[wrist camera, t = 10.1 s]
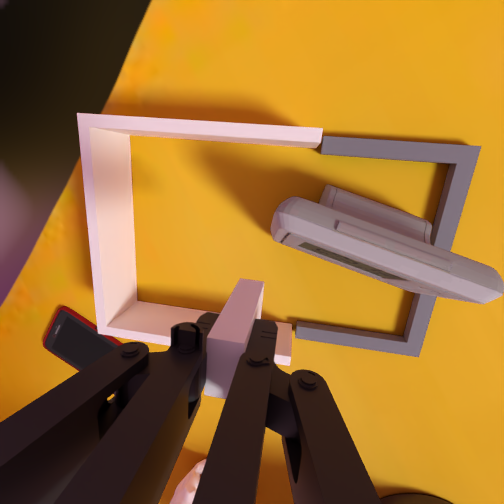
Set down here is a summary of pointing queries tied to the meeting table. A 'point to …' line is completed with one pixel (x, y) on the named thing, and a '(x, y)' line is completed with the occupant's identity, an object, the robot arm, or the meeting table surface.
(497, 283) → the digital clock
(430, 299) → the frame
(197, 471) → the pale pink lumpy piece
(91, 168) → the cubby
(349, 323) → the meeting table surface
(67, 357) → the cell phone
